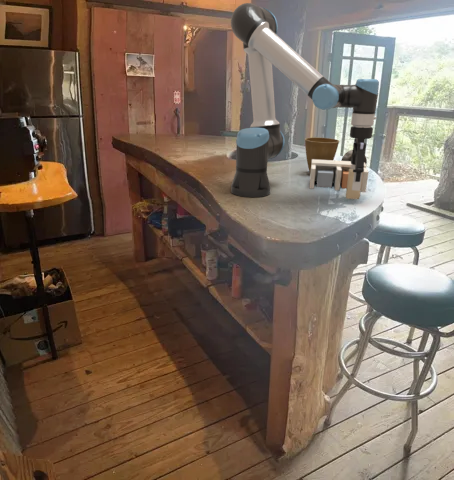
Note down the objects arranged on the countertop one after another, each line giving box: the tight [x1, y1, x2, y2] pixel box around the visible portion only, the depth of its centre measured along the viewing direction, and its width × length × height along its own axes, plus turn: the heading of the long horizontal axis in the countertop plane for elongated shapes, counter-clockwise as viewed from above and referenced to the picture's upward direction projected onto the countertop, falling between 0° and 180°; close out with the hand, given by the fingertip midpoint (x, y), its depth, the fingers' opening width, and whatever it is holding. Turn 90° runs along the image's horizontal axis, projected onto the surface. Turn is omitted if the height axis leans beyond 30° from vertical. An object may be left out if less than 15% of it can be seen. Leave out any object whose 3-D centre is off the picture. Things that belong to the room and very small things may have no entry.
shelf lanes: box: [309, 159, 369, 193], centre depth 165 cm, size 22×16×9 cm
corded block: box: [340, 169, 363, 200], centre depth 156 cm, size 6×21×10 cm, turn 169°
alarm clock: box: [340, 149, 368, 165], centre depth 178 cm, size 11×5×16 cm, turn 104°
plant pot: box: [304, 136, 340, 174], centre depth 182 cm, size 15×15×16 cm
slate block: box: [316, 170, 333, 188], centre depth 165 cm, size 6×6×6 cm
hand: (354, 185), depth 148 cm, fingers open, 13 cm apart
